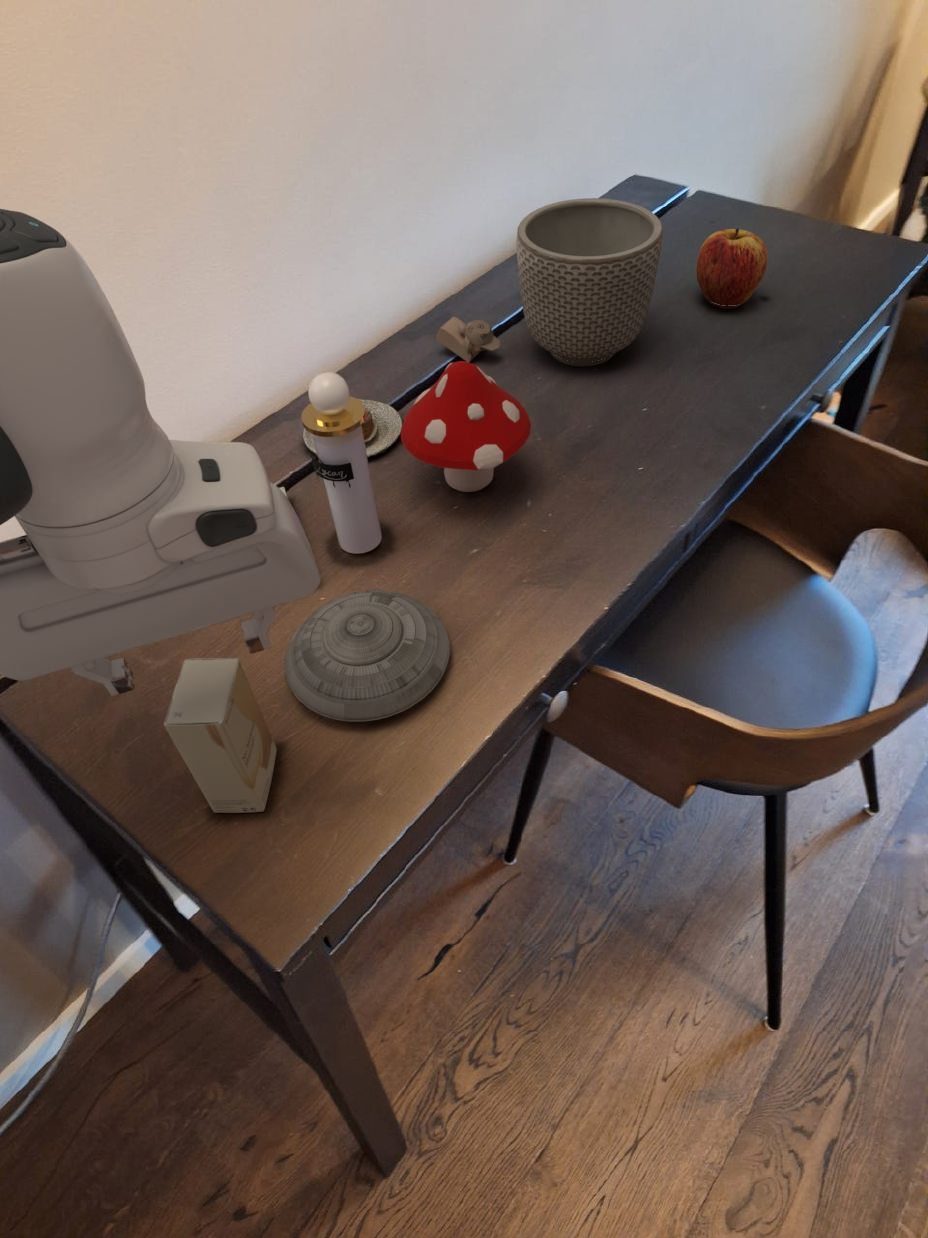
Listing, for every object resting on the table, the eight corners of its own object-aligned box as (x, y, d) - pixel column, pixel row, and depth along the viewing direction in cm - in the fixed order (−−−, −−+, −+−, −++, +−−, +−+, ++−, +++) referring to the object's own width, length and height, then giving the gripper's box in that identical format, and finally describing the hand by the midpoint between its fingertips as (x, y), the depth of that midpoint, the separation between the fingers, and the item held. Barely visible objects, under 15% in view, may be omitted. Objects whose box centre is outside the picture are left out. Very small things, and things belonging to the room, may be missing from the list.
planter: (650, 319, 112) (664, 197, 100) (647, 389, 101) (662, 261, 89) (526, 315, 115) (525, 196, 103) (509, 383, 104) (506, 258, 92)
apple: (679, 308, 113) (690, 236, 106) (706, 281, 118) (718, 210, 111) (742, 324, 110) (757, 250, 102) (767, 295, 114) (783, 222, 107)
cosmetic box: (265, 814, 65) (222, 727, 56) (212, 815, 65) (160, 729, 56) (279, 745, 69) (240, 654, 60) (229, 746, 69) (183, 656, 60)
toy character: (479, 381, 108) (494, 348, 103) (431, 347, 109) (443, 312, 104) (495, 366, 110) (509, 333, 105) (448, 332, 111) (460, 298, 106)
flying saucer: (367, 580, 82) (358, 540, 78) (484, 649, 75) (481, 609, 71) (254, 676, 74) (238, 637, 70) (372, 761, 67) (361, 724, 63)
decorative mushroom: (447, 432, 97) (435, 315, 86) (552, 460, 93) (555, 340, 81) (385, 503, 89) (364, 383, 78) (497, 538, 85) (492, 415, 73)
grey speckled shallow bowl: (323, 404, 103) (315, 372, 100) (414, 410, 101) (409, 377, 98) (291, 462, 96) (282, 429, 92) (388, 470, 93) (383, 436, 90)
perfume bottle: (349, 520, 88) (312, 353, 73) (397, 531, 86) (369, 362, 71) (324, 555, 84) (279, 387, 70) (373, 568, 83) (339, 398, 68)
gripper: (-88, 605, 42) (37, 749, 52) (298, 498, 45) (344, 654, 56) (-77, 529, 46) (37, 677, 56) (277, 436, 49) (323, 592, 60)
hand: (192, 665), depth 56 cm, fingers open, 8 cm apart
